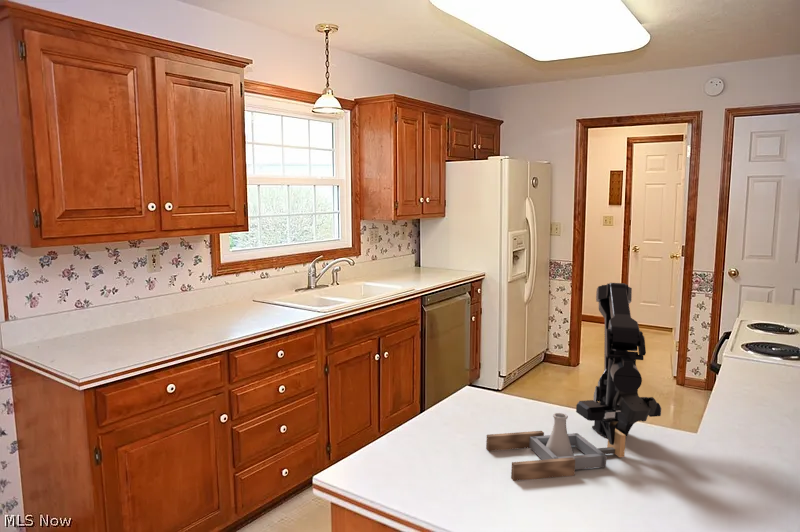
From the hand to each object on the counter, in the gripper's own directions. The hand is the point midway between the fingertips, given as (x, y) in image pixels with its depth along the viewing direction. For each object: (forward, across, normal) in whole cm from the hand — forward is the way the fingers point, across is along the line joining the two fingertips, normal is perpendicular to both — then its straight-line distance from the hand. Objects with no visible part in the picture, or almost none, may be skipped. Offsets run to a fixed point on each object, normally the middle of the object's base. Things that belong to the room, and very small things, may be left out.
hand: (616, 443), depth 135 cm
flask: (+3, -14, +1) cm, 14 cm away
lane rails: (+2, -22, 0) cm, 22 cm away
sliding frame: (+2, -9, 0) cm, 9 cm away
